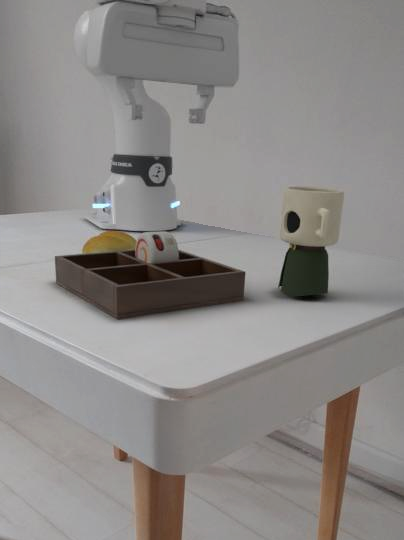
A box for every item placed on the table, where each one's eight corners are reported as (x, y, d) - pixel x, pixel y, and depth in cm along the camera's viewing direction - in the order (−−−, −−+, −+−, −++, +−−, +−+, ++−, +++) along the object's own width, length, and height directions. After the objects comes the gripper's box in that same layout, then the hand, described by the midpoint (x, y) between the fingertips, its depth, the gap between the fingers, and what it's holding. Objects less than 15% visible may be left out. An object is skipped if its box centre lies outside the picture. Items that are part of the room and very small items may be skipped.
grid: (55, 283, 72) (54, 255, 71) (169, 270, 81) (170, 246, 80) (116, 319, 59) (116, 287, 58) (243, 300, 68) (245, 271, 67)
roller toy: (162, 269, 79) (163, 227, 77) (183, 279, 74) (185, 235, 72) (133, 271, 77) (133, 228, 75) (152, 282, 72) (153, 236, 69)
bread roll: (75, 261, 85) (73, 234, 83) (99, 251, 93) (98, 226, 91) (126, 266, 83) (126, 239, 81) (147, 255, 91) (147, 230, 89)
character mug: (264, 284, 76) (273, 184, 72) (314, 284, 78) (326, 186, 73) (287, 307, 66) (299, 192, 62) (345, 306, 68) (361, 194, 63)
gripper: (224, 11, 75) (217, 124, 80) (79, -16, 64) (82, 117, 69) (254, 6, 70) (245, 126, 75) (103, -25, 59) (105, 118, 64)
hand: (166, 122), depth 72 cm, fingers open, 8 cm apart
